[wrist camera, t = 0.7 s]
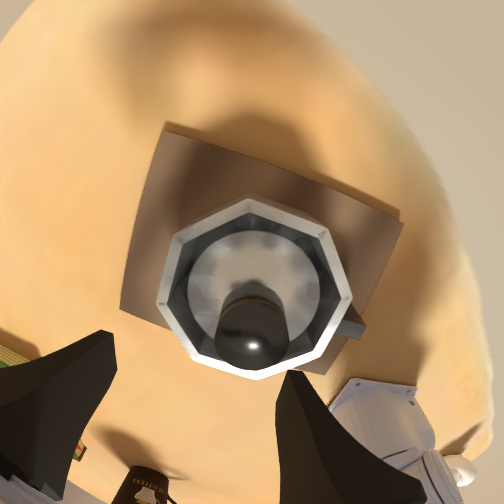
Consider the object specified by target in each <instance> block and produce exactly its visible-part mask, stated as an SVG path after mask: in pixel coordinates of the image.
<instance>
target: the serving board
mask: <svg viewBox="0 0 504 504" xmlns="http://www.w3.org/2000/svg"><path fill="white" fill-rule="evenodd" d="M249 192H253V193H255V194H258V195H261V196H264V197H266V198H269V199H272V200H274V201H277V202H280V203H282V204H285V205H288V206H290V207H293V208H296V209H298V210H301V211H303V212H306V213H308V214H310V215H311V216H312V217H314V218H315V219H316V220H318V221H319V222H320V223H321V224H323V225H324V226H325V227H326V228H327V229H328V230H329V232H330V235H331V238H332V240H333V243H334V245H335V248H336V251H337V253H338V256H339V259H340V262H341V264H342V267H343V270H344V273H345V276H346V279H347V281H348V284H349V287H350V290H351V293H352V296H353V297H352V298H353V299H352V300H351V303H352V305H353V306H354V308H355V309H356V311H357V312H358V314H359V315H360V316H361V314H362V313H363V311H364V309H365V307H366V305H367V303H368V301H369V299H370V297H371V295H372V293H373V292H374V290H375V288H376V286H377V283H378V281H379V279H380V277H381V275H382V273H383V271H384V269H385V267H386V265H387V262H388V260H389V258H390V256H391V254H392V251H393V249H394V247H395V244H396V242H397V240H398V237H399V235H400V232H401V230H402V228H403V225H404V223H402V222H400V221H398V220H397V219H395V218H393V217H391V216H389V215H387V214H385V213H383V212H381V211H379V210H376V209H374V208H372V207H370V206H368V205H366V204H364V203H362V202H360V201H358V200H355V199H353V198H351V197H349V196H347V195H344V194H342V193H340V192H338V191H335V190H333V189H331V188H328V187H326V186H324V185H321V184H319V183H317V182H314V181H312V180H309V179H307V178H304V177H302V176H299V175H297V174H294V173H292V172H289V171H287V170H284V169H281V168H279V167H276V166H273V165H271V164H268V163H265V162H262V161H260V160H257V159H254V158H251V157H248V156H245V155H242V154H239V153H236V152H233V151H230V150H227V149H224V148H221V147H218V146H215V145H211V144H208V143H205V142H202V141H198V140H195V139H191V138H188V137H184V136H181V135H177V134H173V133H170V132H166V131H162V134H161V137H160V140H159V143H158V146H157V149H156V152H155V155H154V158H153V161H152V164H151V167H150V171H149V174H148V177H147V181H146V184H145V188H144V191H143V195H142V199H141V202H140V206H139V210H138V214H137V218H136V222H135V226H134V231H133V235H132V240H131V244H130V249H129V254H128V259H127V264H126V270H125V276H124V281H123V287H122V294H121V301H120V308H119V309H120V310H123V311H125V312H127V313H129V314H132V315H134V316H136V317H139V318H141V319H144V320H146V321H148V322H151V323H153V324H156V325H158V326H161V327H164V328H166V329H169V330H171V331H172V329H171V328H170V326H169V325H168V323H167V321H166V320H165V318H164V317H163V315H162V314H161V312H160V310H159V309H158V307H157V306H156V300H157V296H158V292H159V287H160V283H161V279H162V275H163V271H164V267H165V263H166V259H167V255H168V252H169V248H170V244H171V241H172V237H173V235H174V234H175V233H176V232H178V231H179V230H181V229H182V228H183V227H185V226H186V225H187V224H189V223H190V222H191V221H193V220H194V219H196V218H198V217H200V216H202V215H204V214H206V213H208V212H210V211H212V210H214V209H216V208H218V207H220V206H222V205H224V204H226V203H228V202H230V201H232V200H234V199H237V198H239V197H241V196H243V195H245V194H247V193H249ZM347 339H348V337H346V336H342V335H339V334H335V333H334V334H333V336H332V337H331V339H330V341H329V343H328V344H327V346H326V348H325V350H324V351H323V353H322V355H321V356H320V357H318V358H315V359H313V360H310V361H308V362H305V363H303V364H300V365H297V366H295V367H292V368H294V369H299V370H303V371H307V372H312V373H316V374H321V375H325V374H326V373H327V371H328V370H329V368H330V367H331V365H332V364H333V362H334V360H335V359H336V357H337V356H338V354H339V352H340V351H341V349H342V347H343V346H344V344H345V342H346V341H347Z"/></svg>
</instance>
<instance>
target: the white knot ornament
mask: <svg viewBox="0 0 504 504" xmlns="http://www.w3.org/2000/svg"><path fill="white" fill-rule="evenodd" d="M443 458H444V460H445V462H446V463H447V465H448V467H449V469H450V471H451V472H452V474H453V477H454V479H455V481H456V483H457V486H458V489H459V488H460V486H465V485H467V484H469V483H471V482H472V481H473V479H474V478H475V476H476V468H475V466H474V464H473V463H472V462H471V461H469V460H468V459H466V458H464V457H463V456H462V455H460V454H457V455H447V456H444V457H443Z"/></svg>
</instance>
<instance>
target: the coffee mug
mask: <svg viewBox="0 0 504 504" xmlns="http://www.w3.org/2000/svg"><path fill="white" fill-rule="evenodd" d="M168 485H169V480H168V478H167V477H166V476H164V475H163V474H161V473H159V472H157V471H155V470H152V469H149V468H146V467H142V466H133V467H131V469H130V471H129V472H128V474H127V476H126V478H125V480H124V481H123V483H122V485H121V487H120V489H119V490H118V492H117V494H116V496H115V498H114V499H113V501H112V503H111V504H167V500H169V501H170V502H171V503H172V504H177V503H176V502H175V501H173V500H172V499H171V498H170V496H169V495H168Z"/></svg>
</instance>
